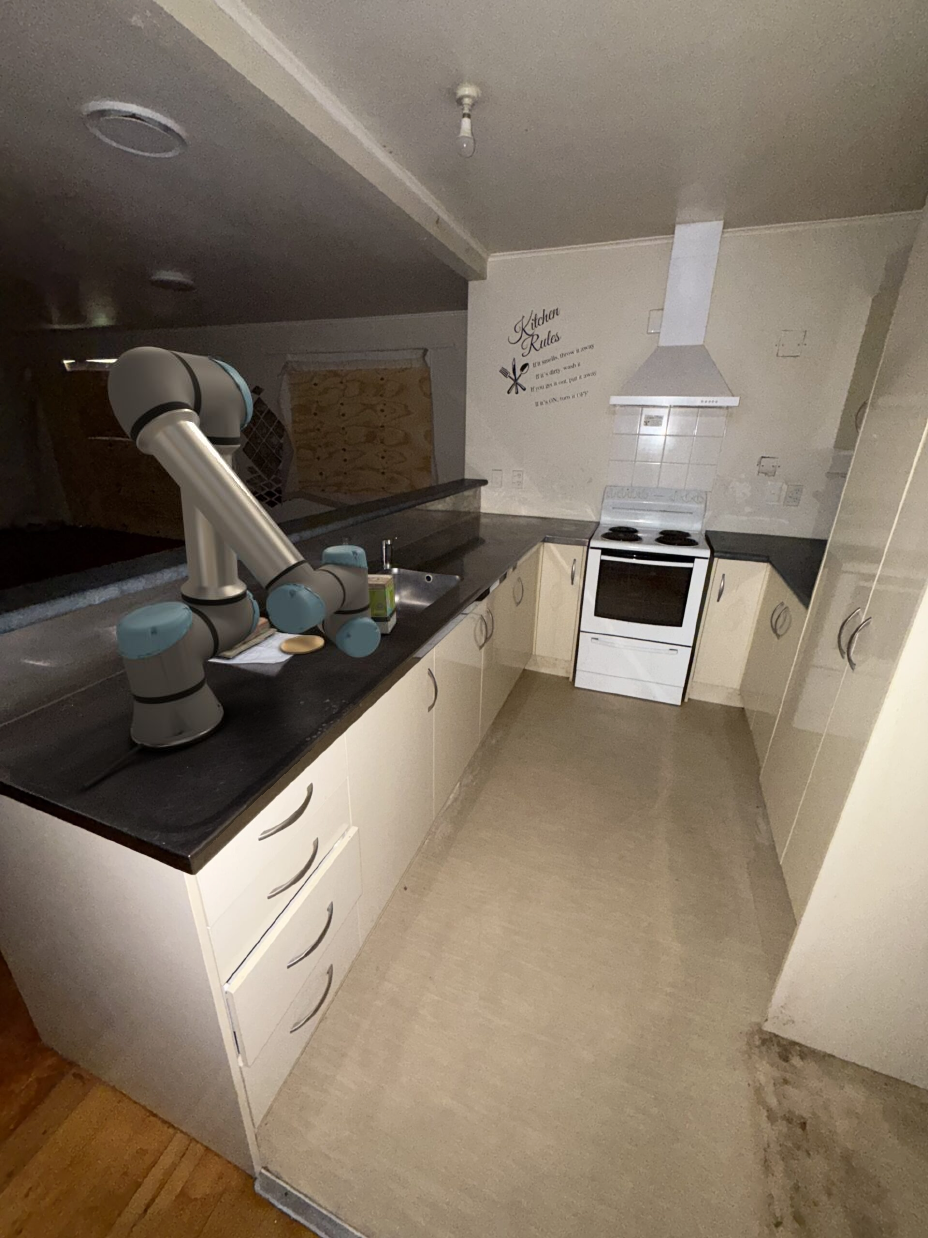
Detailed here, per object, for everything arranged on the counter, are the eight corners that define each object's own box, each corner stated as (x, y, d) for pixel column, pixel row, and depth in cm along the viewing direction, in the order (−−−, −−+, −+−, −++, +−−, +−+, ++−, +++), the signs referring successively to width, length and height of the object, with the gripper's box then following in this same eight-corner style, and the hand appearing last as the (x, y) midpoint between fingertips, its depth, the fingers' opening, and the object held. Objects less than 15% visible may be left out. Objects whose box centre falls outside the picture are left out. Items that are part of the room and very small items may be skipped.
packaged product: (245, 613, 137) (275, 616, 134) (248, 629, 139) (277, 633, 136) (194, 636, 121) (227, 641, 118) (198, 654, 123) (230, 659, 120)
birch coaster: (309, 656, 121) (309, 654, 121) (271, 651, 124) (271, 649, 124) (332, 639, 131) (331, 637, 131) (296, 635, 134) (296, 633, 134)
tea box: (397, 621, 143) (394, 573, 138) (388, 635, 134) (385, 583, 129) (347, 620, 145) (343, 572, 140) (336, 633, 136) (330, 582, 130)
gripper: (290, 643, 94) (261, 609, 112) (375, 623, 104) (336, 595, 122) (284, 606, 91) (256, 578, 109) (373, 590, 101) (333, 566, 119)
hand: (298, 587), depth 115 cm, fingers closed on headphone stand, 5 cm apart
